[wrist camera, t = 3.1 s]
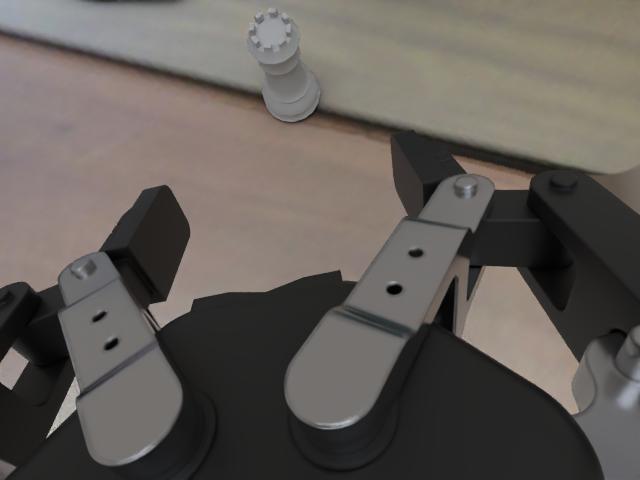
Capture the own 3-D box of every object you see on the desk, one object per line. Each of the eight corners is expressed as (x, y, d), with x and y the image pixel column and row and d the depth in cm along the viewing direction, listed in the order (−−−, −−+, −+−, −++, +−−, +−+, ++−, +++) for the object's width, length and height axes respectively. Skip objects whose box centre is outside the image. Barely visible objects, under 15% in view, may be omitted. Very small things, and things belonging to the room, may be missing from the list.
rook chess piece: (305, 62, 29) (286, -21, 21) (330, 107, 28) (321, 39, 20) (256, 88, 29) (219, 16, 21) (280, 134, 28) (252, 77, 20)
